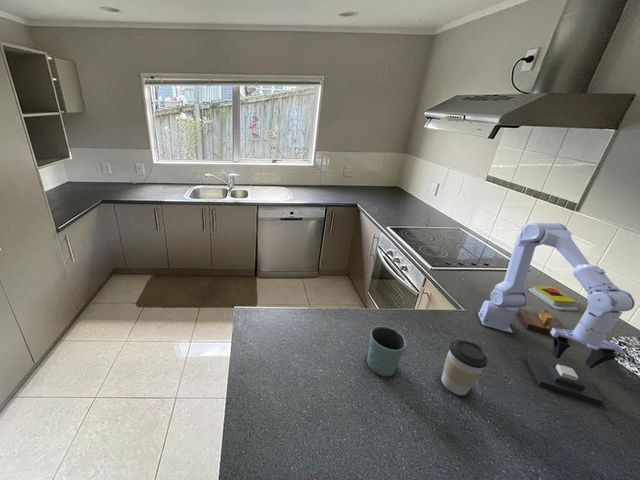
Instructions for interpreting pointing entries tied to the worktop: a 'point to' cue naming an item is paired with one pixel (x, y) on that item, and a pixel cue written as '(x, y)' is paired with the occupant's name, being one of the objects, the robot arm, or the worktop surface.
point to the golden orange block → (545, 317)
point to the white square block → (566, 372)
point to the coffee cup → (463, 366)
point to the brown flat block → (538, 322)
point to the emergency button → (554, 298)
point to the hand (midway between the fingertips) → (571, 360)
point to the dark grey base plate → (563, 381)
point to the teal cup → (385, 350)
